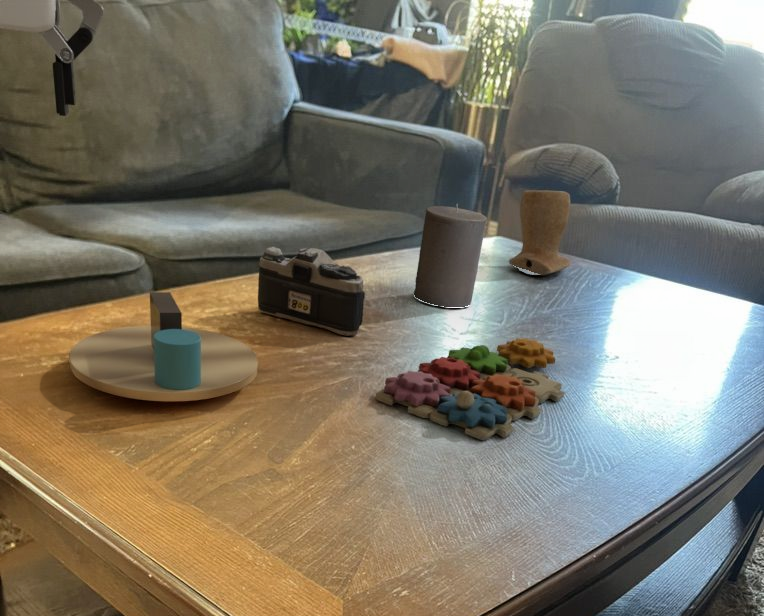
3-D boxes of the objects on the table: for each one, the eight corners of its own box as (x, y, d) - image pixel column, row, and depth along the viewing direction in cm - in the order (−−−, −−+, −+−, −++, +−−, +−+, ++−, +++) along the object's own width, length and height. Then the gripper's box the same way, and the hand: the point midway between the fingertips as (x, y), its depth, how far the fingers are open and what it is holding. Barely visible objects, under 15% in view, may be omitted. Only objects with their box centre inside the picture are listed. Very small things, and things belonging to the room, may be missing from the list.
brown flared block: (521, 257, 162) (537, 180, 154) (575, 270, 157) (594, 192, 150) (491, 268, 151) (507, 186, 143) (548, 283, 146) (567, 198, 138)
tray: (63, 334, 90) (58, 273, 86) (234, 332, 98) (236, 276, 94) (77, 406, 75) (71, 336, 71) (278, 396, 82) (282, 333, 79)
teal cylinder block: (151, 373, 81) (150, 329, 79) (196, 372, 83) (196, 328, 80) (158, 391, 78) (157, 345, 75) (204, 389, 79) (205, 344, 77)
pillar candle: (400, 294, 127) (413, 197, 120) (442, 289, 133) (457, 196, 125) (442, 312, 121) (458, 212, 114) (484, 306, 127) (502, 210, 120)
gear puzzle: (491, 342, 112) (497, 314, 109) (597, 376, 105) (605, 347, 103) (368, 400, 88) (372, 366, 86) (493, 448, 82) (500, 413, 79)
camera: (381, 323, 113) (389, 253, 108) (349, 341, 105) (357, 266, 100) (287, 298, 118) (291, 230, 113) (250, 313, 110) (252, 240, 104)
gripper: (99, -122, 63) (111, 114, 71) (-147, -167, 58) (-101, 91, 67) (93, -136, 56) (107, 124, 65) (-182, -188, 52) (-127, 100, 61)
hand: (2, 107), depth 66 cm, fingers open, 9 cm apart
